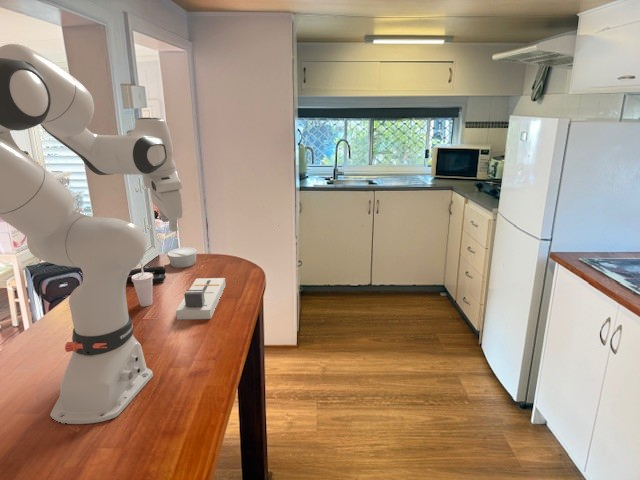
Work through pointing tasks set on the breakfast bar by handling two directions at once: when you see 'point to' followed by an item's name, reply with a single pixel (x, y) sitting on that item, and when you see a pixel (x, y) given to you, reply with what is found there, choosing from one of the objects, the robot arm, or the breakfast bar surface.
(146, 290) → the smoothie
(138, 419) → the breakfast bar surface
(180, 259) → the ramekin
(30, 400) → the breakfast bar surface
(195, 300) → the fader knob
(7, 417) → the breakfast bar surface
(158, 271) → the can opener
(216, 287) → the fader console
